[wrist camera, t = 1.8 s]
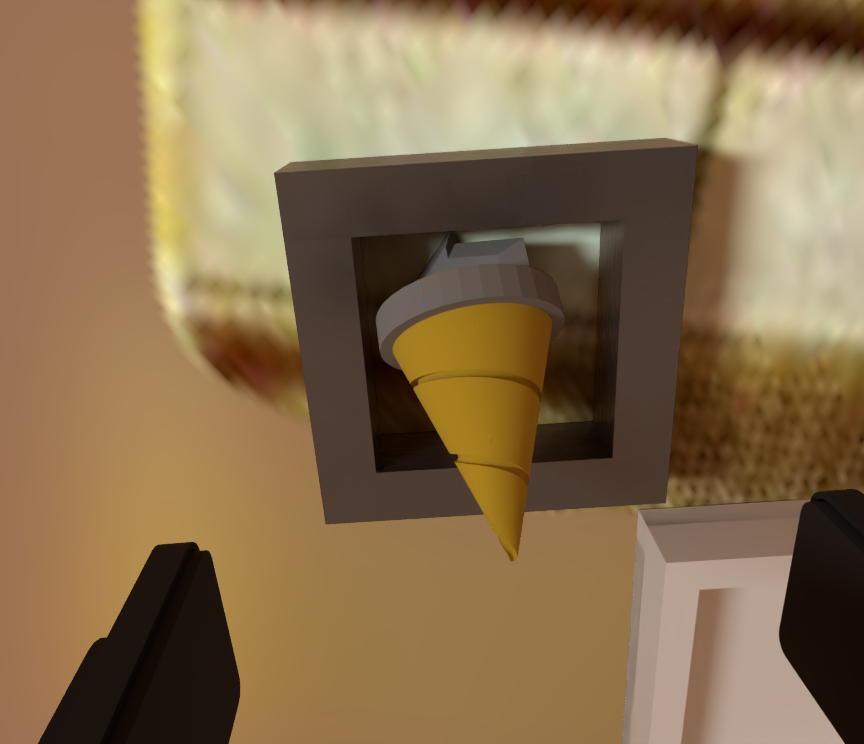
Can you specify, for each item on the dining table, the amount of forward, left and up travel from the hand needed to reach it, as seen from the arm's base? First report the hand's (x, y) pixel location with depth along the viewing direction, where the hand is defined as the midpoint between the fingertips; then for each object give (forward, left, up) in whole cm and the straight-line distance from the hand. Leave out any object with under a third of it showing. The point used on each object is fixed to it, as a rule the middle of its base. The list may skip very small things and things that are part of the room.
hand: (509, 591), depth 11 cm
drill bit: (-1, 0, -13) cm, 13 cm away
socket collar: (-1, 0, -12) cm, 12 cm away
